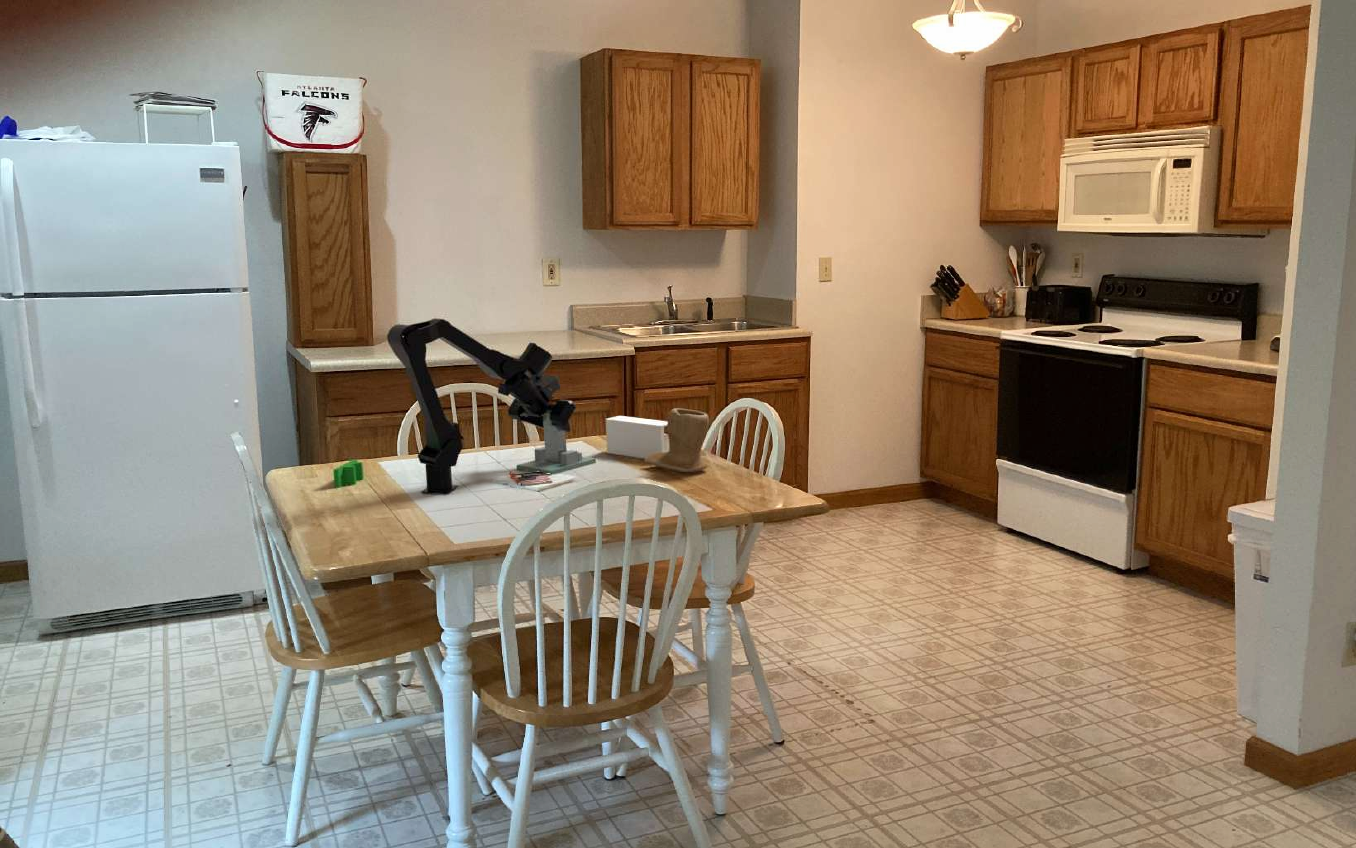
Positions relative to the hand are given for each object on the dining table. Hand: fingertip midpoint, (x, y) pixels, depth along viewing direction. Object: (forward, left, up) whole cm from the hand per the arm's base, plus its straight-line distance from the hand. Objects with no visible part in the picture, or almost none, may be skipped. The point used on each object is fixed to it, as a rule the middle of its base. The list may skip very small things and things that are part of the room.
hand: (558, 429), depth 274 cm
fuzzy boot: (-3, -31, -9) cm, 33 cm away
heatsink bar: (-1, +1, -8) cm, 8 cm away
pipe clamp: (-22, +46, -9) cm, 51 cm away
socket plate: (-1, +1, -9) cm, 9 cm away
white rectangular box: (+12, -18, -9) cm, 23 cm away
